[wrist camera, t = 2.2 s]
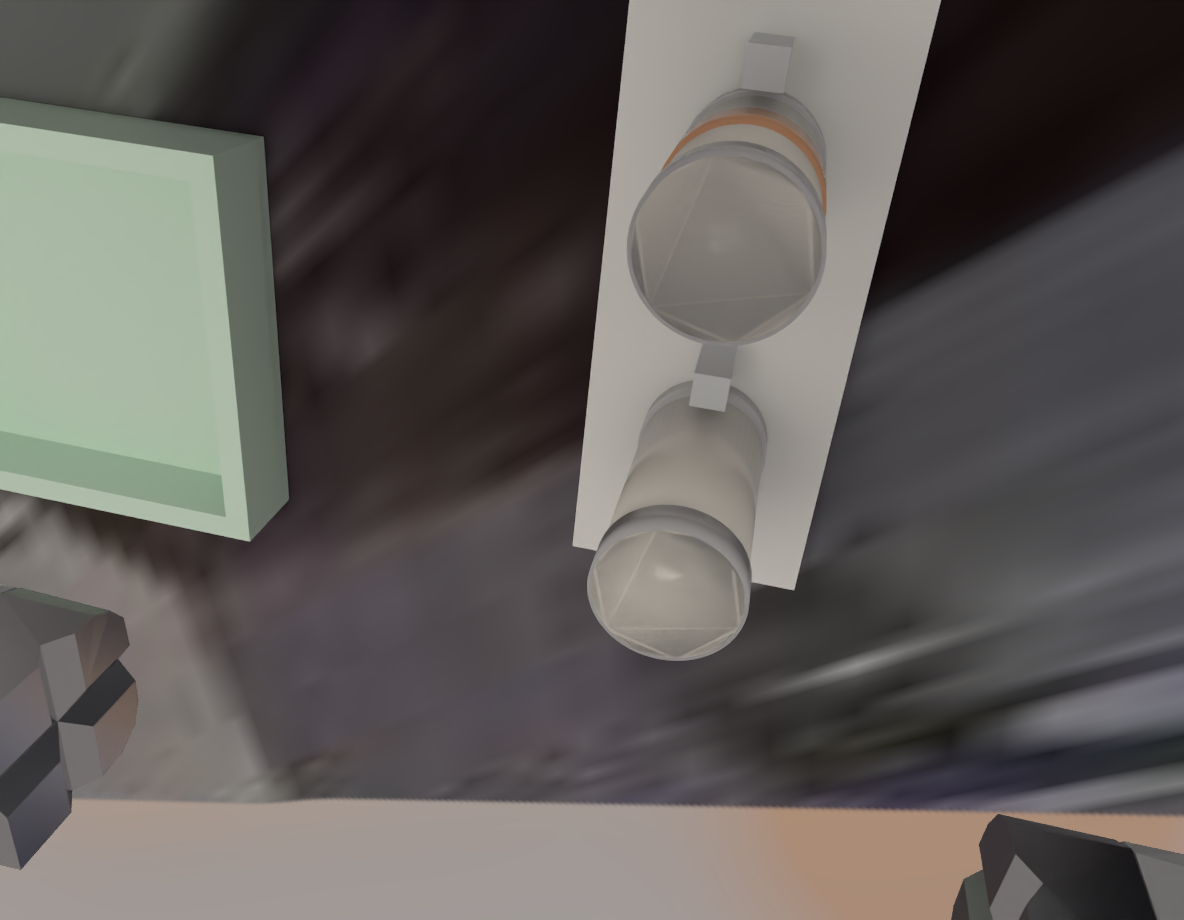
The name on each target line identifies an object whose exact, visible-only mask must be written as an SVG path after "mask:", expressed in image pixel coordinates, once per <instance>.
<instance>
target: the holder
mask: <svg viewBox="0 0 1184 920" xmlns="http://www.w3.org/2000/svg"><path fill="white" fill-rule="evenodd" d="M940 3H941V0H629V10H628V20H627V29H626V39H625V48H624V58H623V67H622V77H621V87H620V96H619V106H618V115H617V125H616V134H615V144H614V154H613V163H612V173H611V182H610V192H609V202H608V211H607V221H606V230H605V240H604V249H603V259H602V269H601V278H600V288H599V297H598V307H597V316H596V326H595V336H594V345H593V355H592V364H591V374H590V384H589V393H588V403H587V412H586V422H585V431H584V441H583V451H582V460H581V470H580V479H579V489H578V498H577V508H576V518H575V527H574V537H573V546H576V547H581V548H586V549H591V550H596V551H597V549H598V546H599V543H600V541H601V539H602V537H603V536H604V534H605V532H606V531H607V530H608V528H609V525H610V523H611V520H612V517H613V514H614V512H615V509H616V506H617V503H618V500H619V498H620V495H621V492H622V489H623V487H624V484H625V481H626V478H627V475H628V473H629V470H630V467H631V464H632V462H633V459H634V456H635V453H636V450H637V448H638V439H639V434H640V431H641V428H642V426H643V423H644V420H645V417H646V415H647V412H648V410H649V408H650V407H651V405H652V404H653V402H654V401H655V400H656V399H657V398H658V397H659V396H660V395H661V394H662V393H663V392H665V391H666V390H667V389H669V388H671V387H673V386H675V385H677V384H680V383H683V382H687V381H692V380H693V384H692V390H691V396H690V402H689V406H693V407H699V408H705V409H710V410H716V411H721V412H725V409H726V404H727V399H728V395H729V390H730V386H732V387H734V388H736V389H738V390H740V391H741V392H743V393H744V394H745V395H746V396H748V397H749V398H750V399H751V400H752V401H753V402H754V404H755V405H756V406H757V407H758V409H759V410H760V412H761V414H762V416H763V418H764V421H765V424H766V428H767V449H766V458H765V464H764V468H763V471H762V473H761V476H760V485H759V493H758V502H757V510H756V519H755V527H754V536H753V544H752V553H751V561H750V565H751V570H752V582H755V583H760V584H765V585H770V586H775V587H780V588H785V589H790V590H794V589H795V585H796V581H797V577H798V573H799V569H800V565H801V561H802V557H803V553H804V549H805V545H806V541H807V537H808V532H809V528H810V524H811V520H812V516H813V512H814V508H815V504H816V500H817V496H818V492H819V488H820V484H821V480H822V476H823V472H824V468H825V464H826V460H827V456H828V452H829V448H830V444H831V440H832V436H833V432H834V428H835V424H836V420H837V416H838V412H839V408H840V404H841V400H842V396H843V392H844V388H845V384H846V380H847V376H848V372H849V368H850V364H851V360H852V356H853V352H854V348H855V344H856V340H857V336H858V332H859V328H860V324H861V320H862V316H863V312H864V308H865V304H866V300H867V296H868V292H869V288H870V284H871V280H872V276H873V272H874V267H875V263H876V259H877V255H878V251H879V247H880V243H881V239H882V235H883V231H884V227H885V223H886V219H887V215H888V211H889V207H890V203H891V199H892V195H893V191H894V187H895V183H896V179H897V175H898V171H899V167H900V163H901V159H902V155H903V151H904V147H905V143H906V139H907V135H908V131H909V127H910V123H911V119H912V115H913V111H914V107H915V103H916V99H917V95H918V91H919V87H920V83H921V79H922V75H923V71H924V67H925V63H926V59H927V55H928V51H929V47H930V43H931V39H932V35H933V31H934V27H935V23H936V19H937V15H938V11H939V7H940ZM739 88H743V89H750V90H758V91H765V92H773V93H780V94H783V93H784V92H785V93H787V94H789V95H791V96H792V97H794V98H795V99H797V100H798V101H800V102H801V103H802V104H803V105H804V106H805V107H806V108H807V109H808V110H809V111H810V112H811V114H812V115H813V116H814V118H815V119H816V121H817V123H818V125H819V127H820V129H821V132H822V134H823V138H824V141H825V147H826V199H827V200H826V217H825V220H826V228H827V254H826V263H825V269H824V273H823V276H822V279H821V282H820V285H819V287H818V289H817V291H816V293H815V295H814V297H813V298H812V300H811V302H810V303H809V305H808V306H807V307H806V308H805V310H804V311H803V312H802V313H801V314H800V315H799V316H798V317H797V318H796V319H795V320H794V321H793V322H792V323H791V324H789V325H788V326H787V327H785V328H784V329H783V330H781V331H779V332H778V333H776V334H774V335H772V336H770V337H768V338H765V339H763V340H760V341H758V342H754V343H750V344H746V345H739V346H713V345H707V344H702V343H698V342H695V341H692V340H690V339H687V338H684V337H683V336H681V335H679V334H677V333H675V332H673V331H672V330H670V329H669V328H667V327H666V326H664V325H663V324H662V323H661V322H660V321H659V320H657V319H656V318H655V317H654V316H653V314H652V313H651V312H650V311H649V310H648V309H647V308H646V306H645V305H644V303H643V302H642V300H641V299H640V297H639V295H638V293H637V291H636V289H635V287H634V285H633V282H632V279H631V276H630V272H629V268H628V262H627V236H628V231H629V226H630V222H631V219H632V216H633V213H634V211H635V209H636V207H637V205H638V203H639V201H640V200H641V198H642V197H643V195H644V193H645V192H646V190H647V189H648V187H649V186H650V184H651V183H652V182H653V180H654V179H655V178H656V176H657V175H658V174H659V173H660V172H661V170H662V168H663V166H664V164H665V162H666V161H667V159H668V158H669V156H670V155H671V153H672V152H673V150H674V149H675V147H676V146H677V144H678V143H679V141H680V140H681V139H682V138H683V137H684V135H685V133H686V131H687V130H688V128H689V127H690V125H691V124H692V122H693V121H694V119H695V118H696V116H697V115H698V114H699V113H700V112H701V111H702V109H703V108H705V107H706V106H707V105H708V104H709V103H710V102H712V101H713V100H714V99H716V98H717V97H719V96H721V95H723V94H725V93H727V92H730V91H732V90H735V89H739Z"/></svg>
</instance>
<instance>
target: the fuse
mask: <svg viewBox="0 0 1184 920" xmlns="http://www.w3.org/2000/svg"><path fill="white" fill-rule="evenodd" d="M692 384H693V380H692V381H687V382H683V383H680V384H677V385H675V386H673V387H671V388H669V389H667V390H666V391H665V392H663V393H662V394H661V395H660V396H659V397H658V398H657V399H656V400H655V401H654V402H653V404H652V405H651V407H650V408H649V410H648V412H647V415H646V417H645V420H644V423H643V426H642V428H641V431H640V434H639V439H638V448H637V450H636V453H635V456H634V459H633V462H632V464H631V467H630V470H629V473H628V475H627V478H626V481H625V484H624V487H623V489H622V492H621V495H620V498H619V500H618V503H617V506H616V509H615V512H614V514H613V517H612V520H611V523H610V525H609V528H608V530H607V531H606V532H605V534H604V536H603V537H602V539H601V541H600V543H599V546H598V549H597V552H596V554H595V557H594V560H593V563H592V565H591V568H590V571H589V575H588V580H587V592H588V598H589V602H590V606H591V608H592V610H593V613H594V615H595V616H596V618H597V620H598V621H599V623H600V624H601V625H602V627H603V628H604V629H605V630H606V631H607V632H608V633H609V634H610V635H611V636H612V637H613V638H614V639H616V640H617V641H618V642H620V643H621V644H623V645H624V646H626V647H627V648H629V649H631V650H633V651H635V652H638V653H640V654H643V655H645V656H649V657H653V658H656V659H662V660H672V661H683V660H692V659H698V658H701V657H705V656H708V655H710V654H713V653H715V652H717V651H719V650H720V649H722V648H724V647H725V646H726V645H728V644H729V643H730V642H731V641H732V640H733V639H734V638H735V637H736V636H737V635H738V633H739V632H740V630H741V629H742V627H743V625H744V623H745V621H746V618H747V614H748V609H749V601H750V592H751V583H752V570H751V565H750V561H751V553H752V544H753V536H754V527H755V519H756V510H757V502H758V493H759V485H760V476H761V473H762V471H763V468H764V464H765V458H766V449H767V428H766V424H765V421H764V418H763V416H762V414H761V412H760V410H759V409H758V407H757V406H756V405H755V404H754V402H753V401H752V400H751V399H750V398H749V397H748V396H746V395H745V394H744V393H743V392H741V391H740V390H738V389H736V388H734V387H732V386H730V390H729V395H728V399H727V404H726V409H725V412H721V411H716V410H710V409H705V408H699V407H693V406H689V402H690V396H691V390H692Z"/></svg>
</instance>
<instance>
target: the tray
mask: <svg viewBox="0 0 1184 920" xmlns="http://www.w3.org/2000/svg"><path fill="white" fill-rule="evenodd" d="M0 489H2V490H7V491H12V492H17V493H21V494H26V495H31V496H36V497H40V498H45V499H50V500H55V501H59V502H64V503H69V504H74V505H78V506H83V507H88V508H93V509H98V510H102V511H107V512H112V513H117V514H121V515H126V516H131V517H136V518H140V519H145V520H150V521H155V522H159V523H164V524H169V525H174V526H178V527H183V528H188V529H193V530H197V531H202V532H207V533H212V534H217V535H221V536H226V537H231V538H236V539H240V540H245V541H251V540H252V539H253V538H254V537H255V536H256V535H257V533H258V532H259V531H260V530H261V529H262V528H263V527H264V526H265V525H266V524H267V523H268V522H269V521H270V520H271V518H272V517H273V516H274V515H275V514H276V513H277V512H278V511H279V510H280V509H281V508H282V507H283V506H284V504H285V503H286V502H287V501H288V500H289V491H288V477H287V463H286V448H285V434H284V420H283V405H282V391H281V377H280V362H279V348H278V334H277V320H276V305H275V291H274V277H273V262H272V248H271V234H270V219H269V205H268V191H267V176H266V162H265V148H264V137H263V136H256V135H250V134H243V133H236V132H230V131H223V130H216V129H210V128H203V127H196V126H190V125H183V124H176V123H170V122H163V121H157V120H150V119H143V118H137V117H130V116H123V115H117V114H110V113H103V112H97V111H90V110H83V109H77V108H70V107H64V106H57V105H50V104H44V103H37V102H30V101H24V100H17V99H10V98H4V97H0Z"/></svg>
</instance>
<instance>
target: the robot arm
mask: <svg viewBox="0 0 1184 920" xmlns="http://www.w3.org/2000/svg"><path fill="white" fill-rule="evenodd" d="M129 645H130V644H129V640H128V635H127V630H126V626H125V621H124V618H123V617H121V616H119V615H117V614H115V613H113V612H111V611H109V610H105V609H101V608H98V607H94V606H90V605H86V604H82V603H78V602H74V601H70V600H67V599H63V598H59V597H55V596H51V595H47V594H43V593H39V592H35V591H32V590H28V589H24V588H15V587H12V586H8V585H4V584H0V865H3V866H7V867H11V868H15V869H20V870H21V869H22V868H23V867H24V866H25V865H26V863H27V862H28V861H29V860H30V859H31V858H32V856H33V855H34V854H35V853H36V852H37V851H38V850H39V848H40V847H41V846H42V845H43V844H44V843H45V842H46V841H47V839H48V838H49V837H50V836H51V835H52V834H53V833H54V831H55V830H56V829H57V828H58V827H59V826H60V825H61V823H62V822H63V821H64V820H65V819H66V818H67V817H68V815H69V814H70V813H71V805H72V790H74V789H76V788H78V787H80V786H82V785H84V784H87V783H89V782H91V781H93V780H95V779H97V778H100V777H102V776H103V775H104V774H105V773H106V771H107V770H108V769H109V768H110V767H111V765H112V764H113V763H114V762H115V761H116V759H117V758H118V757H119V756H120V755H121V753H122V752H123V750H124V747H125V745H126V743H127V741H128V739H129V736H130V734H131V732H132V730H133V728H134V726H135V723H136V715H137V707H138V694H137V687H136V681H135V680H134V678H133V677H132V676H131V675H130V673H129V672H128V671H127V670H126V668H125V667H124V666H123V665H122V663H121V662H120V661H119V660H118V659H119V658H120V656H121V655H122V654H123V653H124V652H125V650H126V649H127V648H128V647H129ZM979 847H980V853H981V859H982V865H983V870H981V871H979V872H977V873H975V874H973V875H971V876H969V877H967V878H965V879H964V880H963V883H962V885H961V888H960V891H959V893H958V896H957V898H956V901H955V904H954V906H953V913H952V919H951V920H1184V854H1180V853H1175V852H1170V851H1166V850H1161V849H1157V848H1152V847H1147V846H1143V845H1138V844H1133V843H1129V842H1118V841H1116V840H1114V839H1109V838H1105V837H1100V836H1095V835H1091V834H1086V833H1082V832H1077V831H1073V830H1068V829H1063V828H1059V827H1055V826H1050V825H1046V824H1041V823H1037V822H1032V821H1027V820H1023V819H1018V818H1013V817H1009V816H1005V815H1000V814H998V815H997V816H996V817H995V818H994V819H993V820H992V821H991V822H989V824H988V825H987V828H986V830H985V832H984V834H983V836H982V839H981V841H980V843H979Z"/></svg>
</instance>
